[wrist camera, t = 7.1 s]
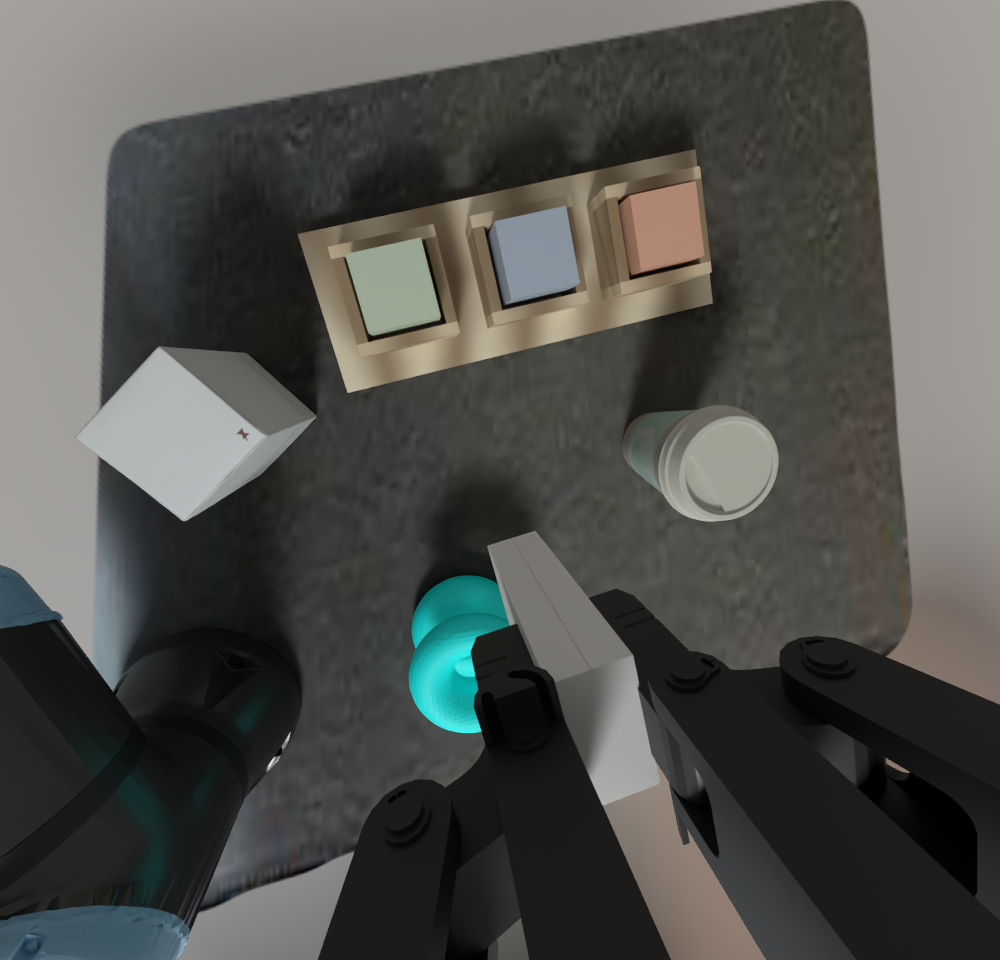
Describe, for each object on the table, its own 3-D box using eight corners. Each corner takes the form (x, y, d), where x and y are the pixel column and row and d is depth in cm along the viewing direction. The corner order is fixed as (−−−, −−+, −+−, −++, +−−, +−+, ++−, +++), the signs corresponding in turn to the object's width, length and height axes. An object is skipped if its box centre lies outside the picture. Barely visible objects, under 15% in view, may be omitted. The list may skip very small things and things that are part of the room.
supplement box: (246, 349, 38) (160, 339, 26) (319, 416, 40) (272, 437, 27) (182, 415, 38) (67, 436, 26) (258, 478, 40) (184, 526, 28)
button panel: (349, 392, 40) (338, 395, 35) (300, 237, 36) (281, 217, 32) (706, 304, 42) (742, 296, 38) (688, 154, 39) (725, 124, 34)
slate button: (502, 306, 37) (511, 299, 33) (487, 237, 35) (494, 221, 32) (564, 292, 37) (579, 283, 33) (551, 223, 36) (566, 205, 32)
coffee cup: (606, 401, 43) (671, 413, 31) (694, 393, 44) (790, 401, 32) (608, 492, 45) (671, 535, 33) (693, 482, 46) (782, 520, 34)
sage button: (374, 337, 36) (368, 332, 32) (354, 267, 35) (345, 254, 31) (439, 321, 36) (440, 315, 32) (421, 252, 35) (420, 237, 31)
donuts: (419, 754, 37) (397, 639, 34) (421, 674, 46) (403, 580, 44) (545, 726, 38) (532, 613, 35) (521, 654, 47) (510, 561, 45)
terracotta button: (619, 280, 39) (640, 270, 35) (608, 213, 37) (629, 195, 33) (677, 266, 39) (704, 255, 35) (668, 200, 38) (695, 180, 34)
